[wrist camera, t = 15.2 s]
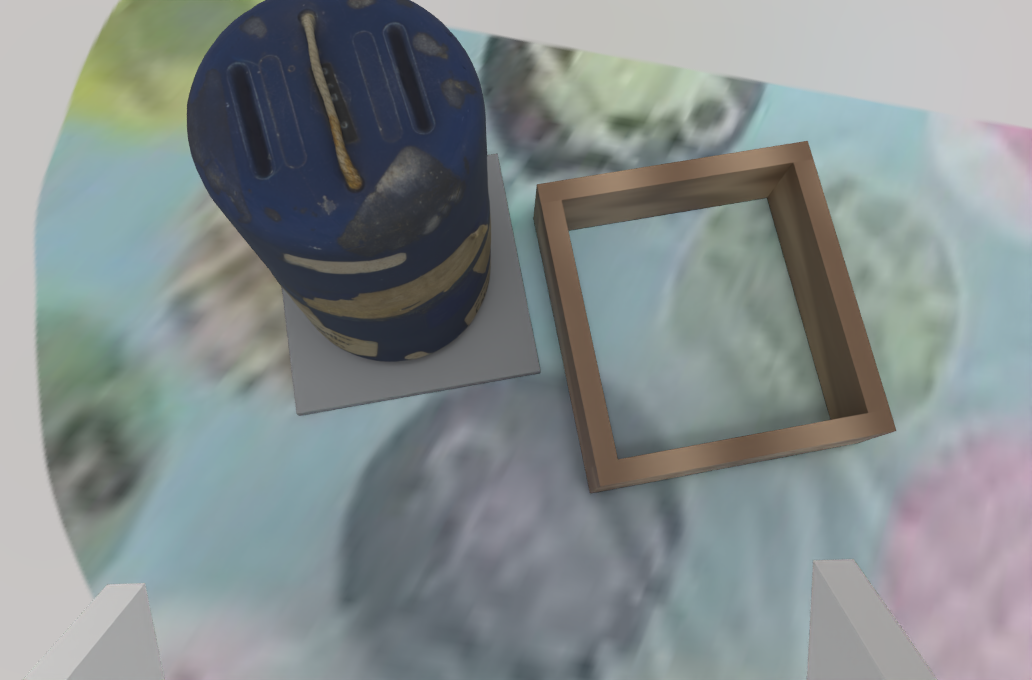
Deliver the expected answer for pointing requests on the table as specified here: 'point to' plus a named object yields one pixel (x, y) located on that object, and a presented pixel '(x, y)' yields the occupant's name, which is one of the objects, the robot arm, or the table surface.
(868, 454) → the table surface
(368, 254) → the canister
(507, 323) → the mat
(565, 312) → the holder
